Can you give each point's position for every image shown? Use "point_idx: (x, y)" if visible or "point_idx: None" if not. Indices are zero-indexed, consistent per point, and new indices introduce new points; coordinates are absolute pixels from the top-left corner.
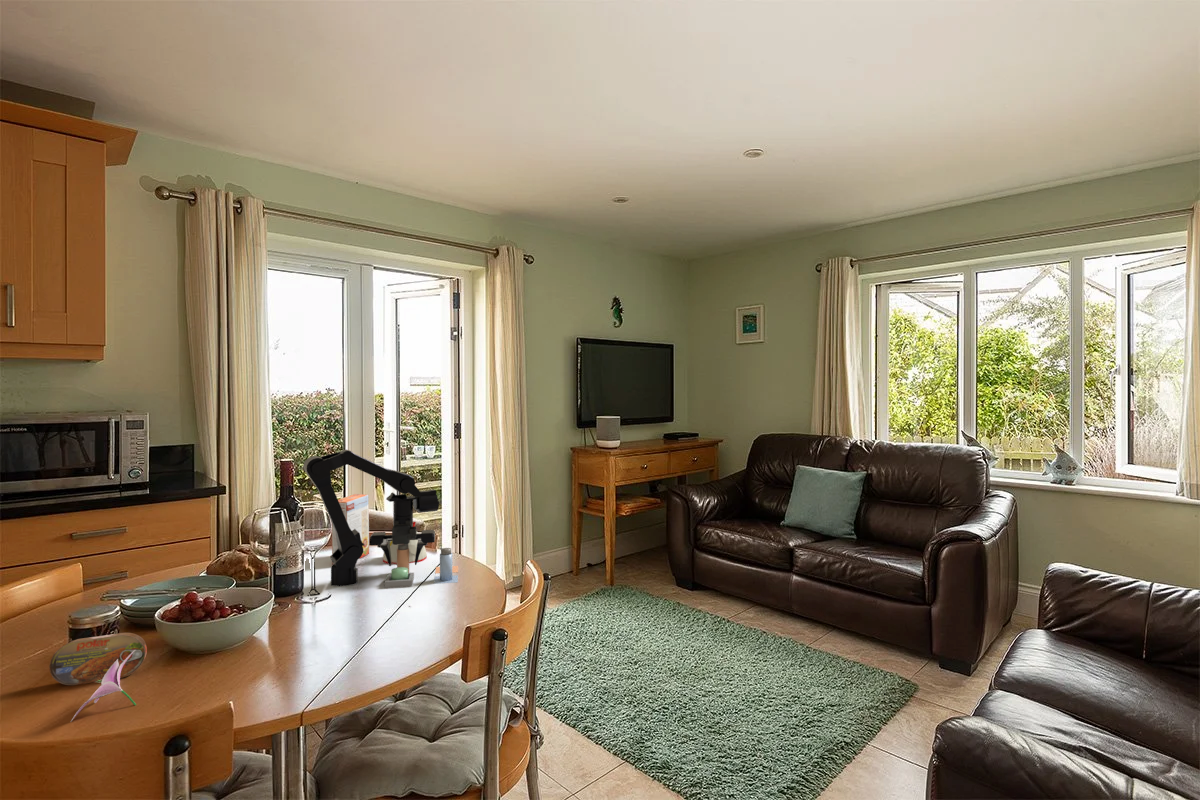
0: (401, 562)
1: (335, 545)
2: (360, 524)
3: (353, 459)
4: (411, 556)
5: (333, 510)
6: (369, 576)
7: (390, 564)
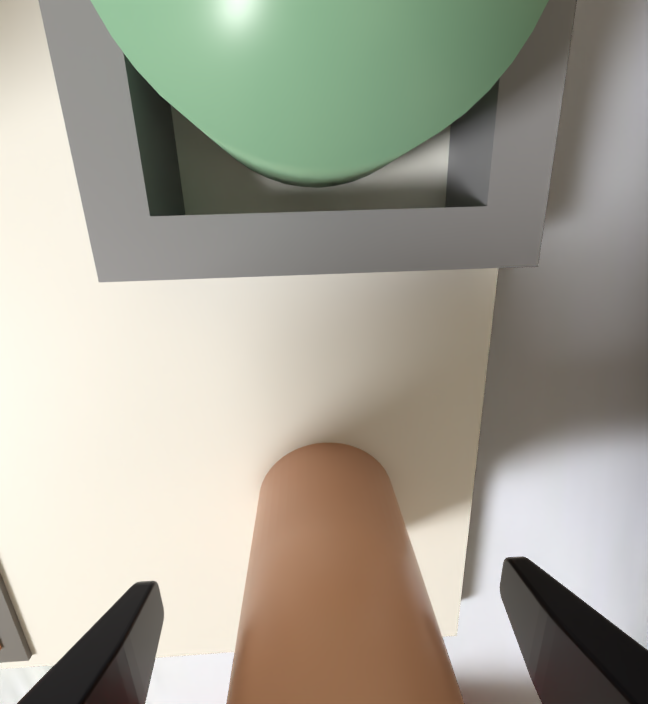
0: (356, 576)
1: None
2: None
3: None
4: None
5: None
6: (637, 523)
7: (524, 576)
